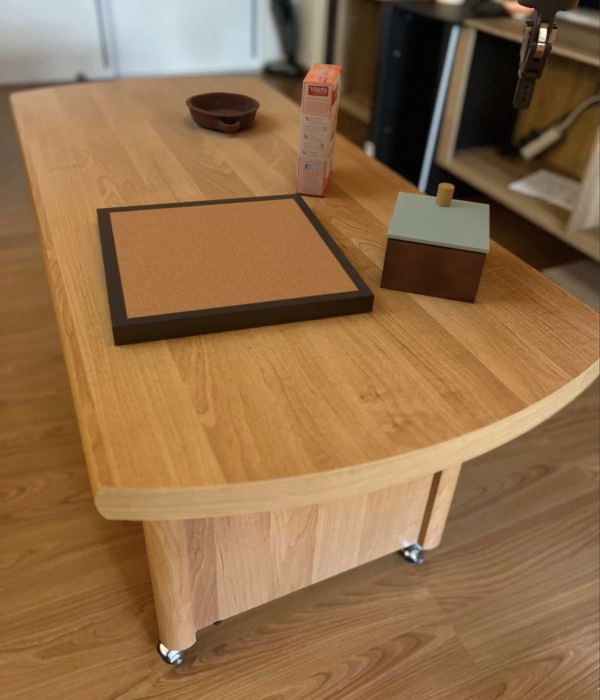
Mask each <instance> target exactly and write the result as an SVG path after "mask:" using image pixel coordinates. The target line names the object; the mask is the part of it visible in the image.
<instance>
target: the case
mask: <svg viewBox="0 0 600 700" xmlns="http://www.w3.org/2000/svg"><path fill="white" fill-rule="evenodd" d="M385 246H386V247H385V253H384V259H383V265H382V272H381V278H380V279H381V280H380V285H379V287H380V288H381V289H386V290H392V291H398V292H405V293H412V294H416V295H422V296H429V297H434V298H440V299H446V300H452V301H457V302H463V303H468V304H469V303H470V304H475V301H476V298H477V294H478V290H479V286H480V283H481V278H482V274H483V272H484V267H485V264H486V261H487V260H486V259H487V254H488V253H482V252H476V251H470V250H463V249H457V248H451V247H444V246H438V245H431V244H425V243H419V242H412V241H406V240H400V239H393V238H387V239H386V245H385Z"/></svg>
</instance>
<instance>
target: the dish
mask: <svg viewBox="0 0 600 700" xmlns="http://www.w3.org/2000/svg"><path fill="white" fill-rule="evenodd" d="M185 105H186V107H188V110H189V113H190V115H191V118H192V120H193V121H194V122H195V124H197V125H198V126H201V127H204V128H207V129H211V130H218V131H222V132H225V133H228V134H229V133H230V134H231V133H236V132H238V130H241V129H245V128H247V127H249V126H251V125H252V124H253V123H254V121H255V119H256V117H257V116H256V115H257V111H258V110H259V109H260V107H261V105H260V102H259V100H257V99H255V98H254V97H251V96H250V95H246V94H241V93H235V92H234V93H233V92H224V91H213V92H205V93H201V94H194V95H192V96H189V98H187V99H186V101H185Z"/></svg>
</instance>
